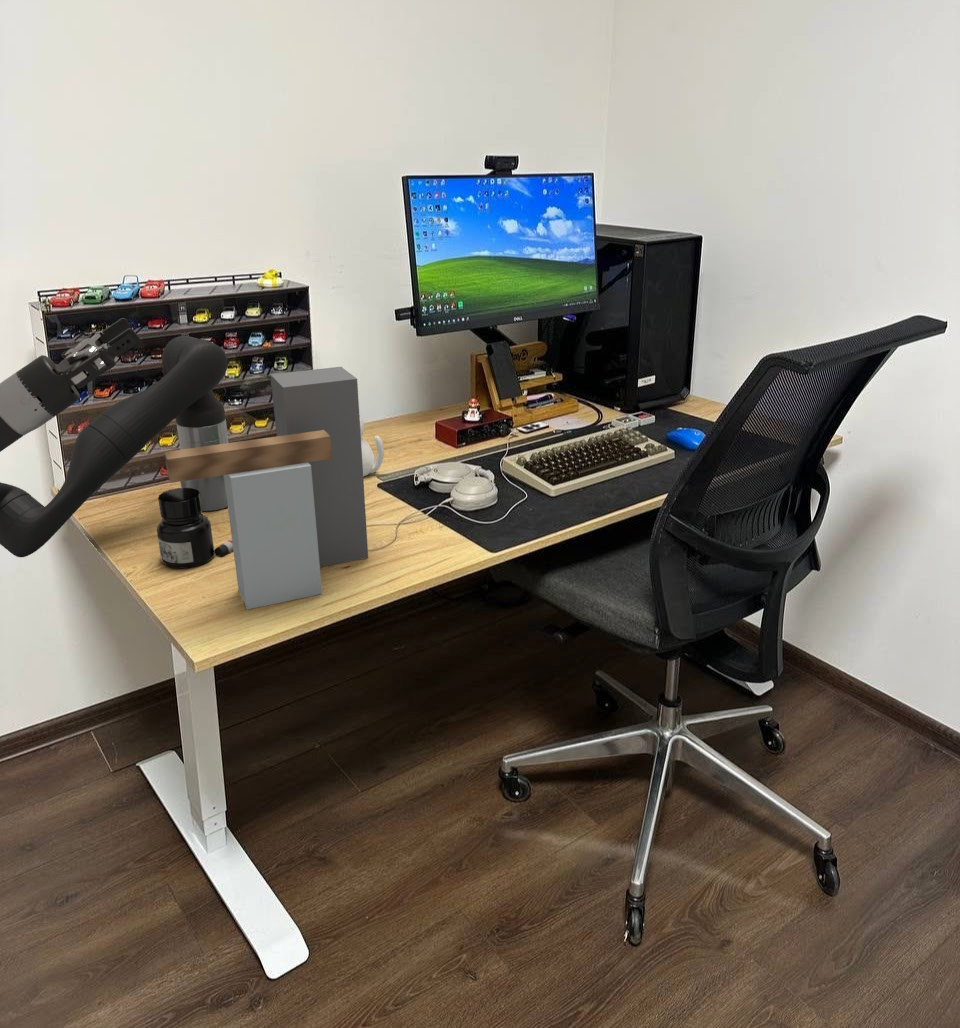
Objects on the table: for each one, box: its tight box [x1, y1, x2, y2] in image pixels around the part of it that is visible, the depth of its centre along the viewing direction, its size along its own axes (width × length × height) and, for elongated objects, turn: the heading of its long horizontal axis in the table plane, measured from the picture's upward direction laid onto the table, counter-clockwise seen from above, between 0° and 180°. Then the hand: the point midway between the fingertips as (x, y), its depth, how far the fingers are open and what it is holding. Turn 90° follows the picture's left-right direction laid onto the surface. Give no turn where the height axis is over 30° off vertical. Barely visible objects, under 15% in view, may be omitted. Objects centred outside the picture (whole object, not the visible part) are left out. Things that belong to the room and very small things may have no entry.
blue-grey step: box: [224, 462, 323, 610], centre depth 140 cm, size 12×7×22 cm, turn 115°
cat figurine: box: [359, 414, 385, 478], centre depth 191 cm, size 9×12×15 cm
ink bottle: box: [156, 487, 215, 569], centre depth 153 cm, size 10×9×12 cm
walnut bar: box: [164, 430, 332, 484], centre depth 134 cm, size 24×4×4 cm, turn 115°
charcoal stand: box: [270, 366, 369, 568], centre depth 151 cm, size 12×9×32 cm
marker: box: [214, 538, 234, 558], centre depth 163 cm, size 15×2×2 cm, turn 155°
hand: (132, 328), depth 125 cm, fingers open, 8 cm apart
